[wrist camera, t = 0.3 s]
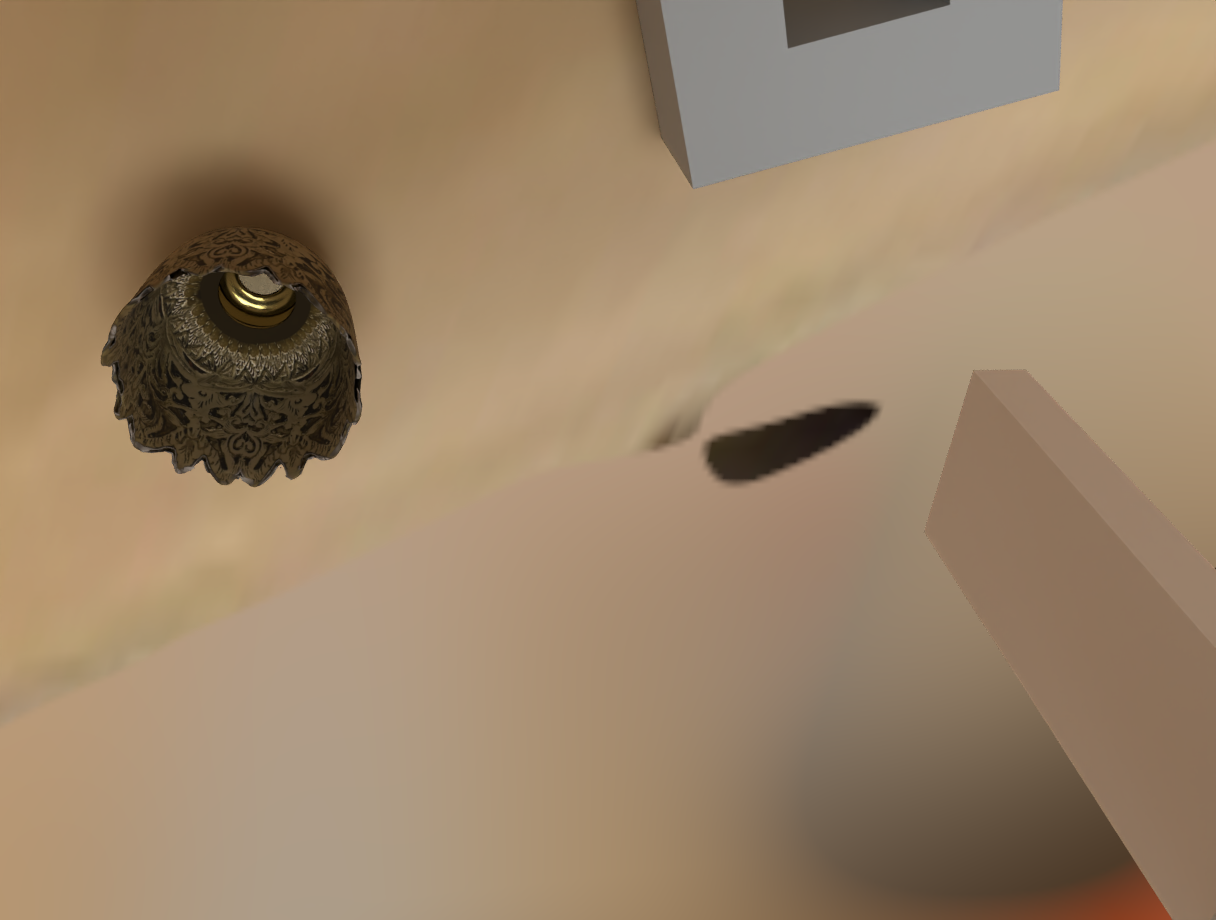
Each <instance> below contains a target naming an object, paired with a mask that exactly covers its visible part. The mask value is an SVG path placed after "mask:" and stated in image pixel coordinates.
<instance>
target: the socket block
mask: <svg viewBox="0 0 1216 920" xmlns="http://www.w3.org/2000/svg"><path fill="white" fill-rule="evenodd" d="M636 4H637V9H638V15H639V20H640V25H641V31H642V36H643V41H644V47H645V52H646V57H647V63H648V68H649V73H650V79H651V84H652V89H653V95H654V100H655V105H656V111H657V116H658V121H659V127H660V132H661V137H662V139H663V141H664V143H665V144H666V146H667V148H668V149H669V151H670V152H671V154H672V156H673V157H674V159H675V160H676V162H677V164H678V165H679V167H680V169H681V170H682V172H683V173H684V175H685V177H686V178H687V180H688V181H689V183H690V185H691V186H692V188H693V189H696V188H699V187H703V186H707V185H710V184H714V183H718V182H722V181H725V180H729V179H733V178H736V177H740V176H744V175H747V174H751V173H755V172H758V171H762V170H766V169H770V168H773V167H777V166H781V165H784V164H788V163H792V162H795V161H799V160H803V159H807V158H810V157H814V156H818V155H821V154H825V153H829V152H832V151H836V150H840V149H843V148H847V147H851V146H855V145H858V144H862V143H866V142H869V141H873V140H877V139H880V138H884V137H888V136H892V135H895V134H899V133H903V132H906V131H910V130H914V129H917V128H921V127H925V126H928V125H932V124H936V123H940V122H943V121H947V120H951V119H954V118H958V117H962V116H965V115H969V114H973V113H977V112H980V111H984V110H988V109H991V108H995V107H999V106H1002V105H1006V104H1010V103H1013V102H1017V101H1021V100H1025V99H1028V98H1032V97H1036V96H1039V95H1043V94H1047V93H1050V92H1054V91H1058V90H1059V82H1060V56H1061V30H1062V4H1063V0H636Z"/></svg>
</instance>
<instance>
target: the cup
mask: <svg viewBox="0 0 1216 920" xmlns="http://www.w3.org/2000/svg"><path fill="white" fill-rule="evenodd" d="M262 273H264V274H267V276H268V277H270V280H272V281H273V283H276V284H279V285H283V287H282V289H281V290H280V291H279V292H277V293H275V294H273V295H269V296H260V295H256V294H253V293H251V292H249V291H248V290H247V289H245V288H244V287H243V285H242V284H241V282H240V280H239V277H238V274H239V275H244V276H256V275H259V274H262ZM101 365H102V366H109V367H110V366H112V367H113V371H112V381H113V382H114V383H115V384H116V387H117V395H116V398H117V399H116V403H115V407H114V414H115V416H116V418H117V419H119V420H122V419H126V418H127V421H128V428H129V432H130V440H131V442H132V444H133V446H134V447H135V448H136V449H138V450H140V451H142V452H148V453H155V452H164V451H166V452H168V453H171V454H172V464H173V465H174V469H175V471H176V473H177V474H182V473H186V472H187V471H191V470H192V469H194V468H195V467H194V466H195V465H196V464H197V463H199V461H201V460H203V461H204V466H205V468H206V471H207V472H208V473H211V475H212V476H213V477H214V479H215V480H216V481H217V482H218V483H219V484H221V485H228V484H231V483H232V482H233V481H234V480H235V479H239V478H241V479H242V481H244V482H246V483H247V484H249V485H250V486H251V487H257V486H259V485H261V484H263V483H265V482H266V481H267V480H268V479H269V478H270V477H271V476H272V475H273V473H274V472H275V471H276V469H277V467H278V466H279V465H280V464H282V465H283V467H284V469H285V471H286V477H287V478H289V479H290V480H292V479H295V478H296V477H298V476H299V475H300V474H301V473H302V471H303V468H304V466H305V464H306V461H307V460H308V459H313V458H317V459H319V460H329V459H332V458H334V457H335V456H336V455H337V454H338V453H339V451H340V450H341V448H342V446H343V444H344V442H345V440H346V438H347V435H348V432H349V429H350V427H351V425H352V423H353V425H356V424H357V423H358V421H359V419H360V417H361V412H362V402H361V398H360V387H361V379H362V374H361V361H360V358H359V352H358V346H357V341H356V336H355V331H354V325H353V320H352V316H351V312H350V309H349V306H348V303H347V300H346V297H345V295H344V293H343V291H342V288H341V286H340V285H339V283H338V281H337V280H336V278H335V276H334V275H333V273H332V272H331V270H330V269H329V268H328V267H327V265H326V264H325V263H324V262H323V261H322V260H321V259H320V258H319V257H318V256H317V255H316V254H314V253H313V252H312V251H311V250H310V249H308V248H307V247H305V246H304V245H302V244H301V243H299V242H297V241H295V240H293V239H291V238H290V237H287V236H285V235H282V234H280V233H277V232H273V231H270V230H265V229H261V228H252V227H232V228H224V229H219V230H214V231H211V232H208V233H205V234H203V235H201V236H198V237H196V238H194V239H192V240H191V241H189V242H187V243H186V244H184V245H182V246H181V247H179V248H178V249H177V250H176V251H174V252H173V253H172V254H171V255H170V256H168V257H167V258H166V259H165V260H164V261H163V262H162V263H161V265H160V266H159V267H158V268H157V269H156V270H155V271H154V272H153V273H152V274H151V276H150V277H149V278H148V279H147V281H146V282H145V283H144V284H143V286H142V287H141V288H140V289H139V291H138V292H137V293H136V295H135V296H134V297H133V299H132V300H131V301H130V302H129V303H128V304H127V305H126V306H125V307H124V308H123V309H122V311H121V312H120V313H119V315H118V316H117V318H116V319H115V321H114V323H113V325H112V327H111V330H110V333H109V337H108V342H107V343H106V345H105V346H104V348H103V351H102V355H101ZM280 468H281V467H280ZM240 476H241V477H240Z"/></svg>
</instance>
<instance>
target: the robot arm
mask: <svg viewBox="0 0 1216 920" xmlns="http://www.w3.org/2000/svg"><path fill="white" fill-rule="evenodd" d="M924 532H925V534H926V536H927V537H928V539H929V540H930V542H931V543H932V545H933V547H934V548H935V549H936V551H937V553H938V554H939V556H940V558H941V559H942V561H943V562H944V564H945V565H946V567H947V568H948V570H949V572H950V573H951V575H952V576H953V578H954V579H955V581H956V583H957V584H958V586H959V587H960V589H961V590H962V592H963V593H964V595H965V596H966V598H967V599H968V601H969V603H970V604H971V606H972V608H973V609H974V611H975V612H976V614H977V615H978V617H979V618H980V620H981V622H982V623H983V625H984V626H985V628H986V629H987V631H988V632H989V634H990V636H991V637H992V639H993V640H994V642H995V643H996V645H997V646H998V648H999V649H1000V651H1001V653H1002V654H1003V656H1004V657H1005V659H1006V660H1007V662H1008V663H1009V665H1010V667H1011V668H1012V669H1013V671H1014V673H1015V675H1016V676H1017V678H1018V679H1019V681H1020V682H1021V684H1022V686H1023V687H1024V689H1025V690H1026V692H1027V693H1028V695H1029V696H1030V698H1031V700H1032V701H1033V703H1034V704H1035V706H1036V707H1037V709H1038V711H1039V712H1040V714H1041V715H1042V717H1043V718H1044V720H1045V721H1046V723H1047V724H1048V726H1049V728H1050V729H1051V731H1052V732H1053V734H1054V735H1055V737H1056V739H1057V740H1058V742H1059V743H1060V745H1061V746H1062V748H1063V749H1064V751H1065V752H1066V754H1067V756H1068V757H1069V759H1070V760H1071V762H1072V764H1073V765H1074V767H1075V768H1076V769H1077V771H1078V773H1079V774H1080V776H1081V777H1082V779H1083V781H1084V782H1085V784H1086V785H1087V787H1088V788H1089V790H1090V791H1091V793H1092V795H1093V796H1094V798H1095V799H1096V801H1097V803H1098V804H1099V806H1100V807H1101V809H1102V810H1103V812H1104V813H1105V815H1106V816H1107V818H1108V820H1109V821H1110V823H1111V824H1112V826H1113V827H1114V829H1115V830H1116V832H1117V834H1118V835H1119V837H1120V838H1121V840H1122V842H1123V843H1124V845H1125V846H1126V848H1127V849H1128V851H1129V852H1130V854H1131V856H1132V857H1133V859H1134V860H1135V862H1136V863H1137V865H1138V867H1139V868H1140V870H1141V871H1142V873H1143V874H1144V876H1145V877H1146V879H1147V881H1148V882H1149V884H1150V885H1151V887H1152V888H1153V890H1154V892H1155V893H1156V895H1157V896H1158V898H1159V899H1160V901H1161V902H1162V904H1163V906H1164V907H1165V908H1166V910H1167V912H1168V913H1169V915H1170V916H1171V918H1172V920H1216V568H1214V567H1213V566H1212V565H1211V564H1210V563H1209V562H1208V561H1207V560H1206V559H1205V558H1204V556H1203V555H1202V554H1201V553H1200V552H1199V551H1198V550H1197V549H1196V548H1195V547H1194V546H1193V545H1192V544H1191V543H1190V542H1189V541H1188V540H1187V539H1186V538H1185V537H1184V535H1183V534H1181V532H1180V531H1179V530H1178V529H1177V528H1176V527H1175V526H1174V525H1173V524H1172V523H1171V522H1170V521H1169V520H1168V519H1167V518H1166V517H1165V516H1164V515H1163V514H1162V512H1161V511H1160V510H1159V509H1158V508H1157V507H1156V506H1155V505H1154V504H1153V503H1152V502H1151V501H1150V500H1149V499H1148V498H1147V497H1146V496H1145V494H1144V493H1143V492H1142V491H1141V490H1140V489H1139V488H1138V487H1137V486H1136V485H1135V484H1134V483H1133V482H1132V481H1131V480H1130V479H1129V478H1128V477H1127V476H1126V475H1125V473H1124V472H1123V471H1122V470H1121V469H1120V468H1119V467H1118V466H1117V465H1116V464H1115V463H1114V462H1113V461H1112V460H1111V459H1110V458H1109V457H1108V456H1107V455H1106V453H1105V452H1104V451H1103V450H1102V449H1101V448H1100V447H1099V446H1098V445H1097V444H1096V443H1095V442H1094V441H1093V440H1092V439H1091V438H1090V437H1089V436H1088V435H1087V433H1086V432H1085V431H1084V430H1083V429H1082V428H1081V427H1080V426H1079V425H1078V424H1077V423H1076V422H1075V421H1074V420H1073V419H1072V418H1071V417H1070V416H1069V415H1068V414H1067V413H1066V411H1065V410H1064V409H1062V407H1061V406H1060V405H1059V404H1058V403H1057V402H1056V401H1055V400H1054V399H1053V398H1052V397H1051V396H1050V395H1049V394H1048V393H1047V392H1046V390H1044V388H1043V387H1042V386H1041V385H1040V384H1039V383H1038V382H1037V381H1036V380H1035V379H1034V378H1033V377H1032V376H1031V375H1030V374H1029V373H1028V371H1027V370H973V373H972V376H971V380H970V383H969V386H968V390H967V393H966V396H965V399H964V402H963V406H962V409H961V412H960V416H959V419H958V422H957V425H956V429H955V432H954V435H953V438H952V442H951V445H950V448H949V452H948V455H947V458H946V461H945V465H944V468H943V471H942V474H941V478H940V481H939V484H938V487H937V491H936V494H935V497H934V500H933V504H932V507H931V511H930V514H929V517H928V520H927V523H926V527H925V530H924Z"/></svg>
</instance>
